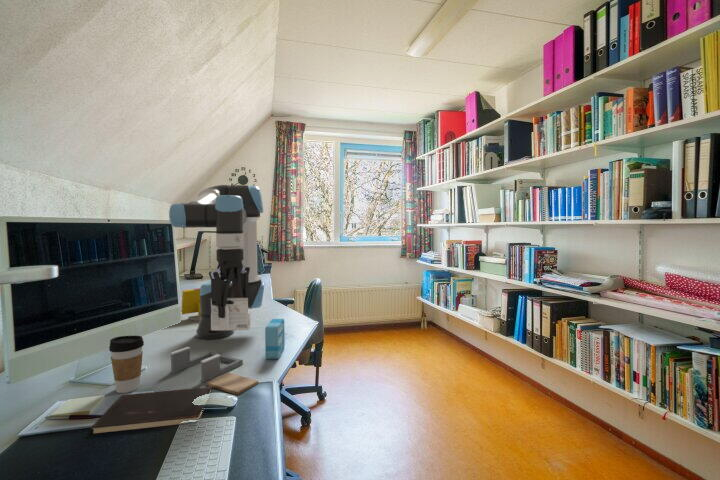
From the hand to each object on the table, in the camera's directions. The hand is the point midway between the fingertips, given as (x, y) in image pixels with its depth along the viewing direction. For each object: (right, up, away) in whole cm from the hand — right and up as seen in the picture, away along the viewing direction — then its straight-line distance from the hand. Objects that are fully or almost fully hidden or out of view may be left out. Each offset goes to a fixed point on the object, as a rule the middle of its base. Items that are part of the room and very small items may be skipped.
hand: (231, 325), depth 104 cm
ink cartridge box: (0, -1, 0) cm, 1 cm away
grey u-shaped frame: (-13, -17, +13) cm, 25 cm away
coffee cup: (-30, -18, -2) cm, 35 cm away
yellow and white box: (-41, -14, +75) cm, 87 cm away
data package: (+7, -17, +25) cm, 31 cm away
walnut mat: (0, -18, +1) cm, 18 cm away
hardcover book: (-14, -19, -14) cm, 28 cm away
